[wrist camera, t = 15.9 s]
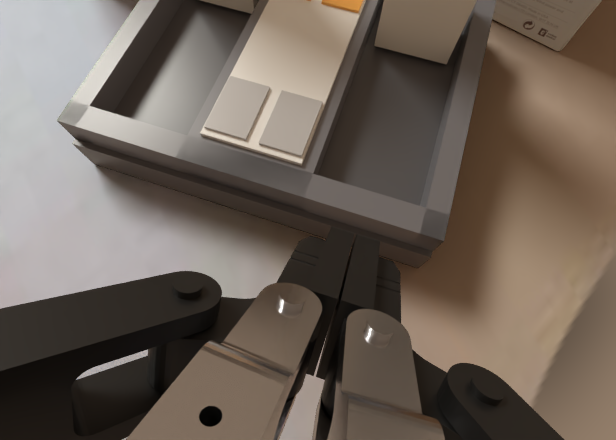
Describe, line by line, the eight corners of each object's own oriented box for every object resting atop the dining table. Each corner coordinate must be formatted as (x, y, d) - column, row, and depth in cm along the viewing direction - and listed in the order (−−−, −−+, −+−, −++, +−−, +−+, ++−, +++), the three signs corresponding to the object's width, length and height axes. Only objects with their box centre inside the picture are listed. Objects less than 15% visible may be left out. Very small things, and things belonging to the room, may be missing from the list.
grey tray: (418, 268, 18) (445, 245, 15) (93, 163, 20) (47, 121, 17) (473, 34, 24) (503, -24, 20) (213, -30, 26) (198, -94, 22)
